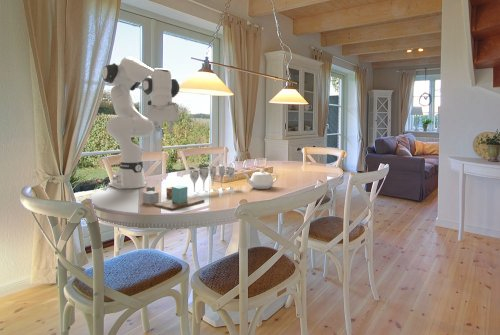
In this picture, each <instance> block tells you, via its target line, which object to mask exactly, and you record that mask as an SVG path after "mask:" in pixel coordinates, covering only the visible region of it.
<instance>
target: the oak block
mask: <svg viewBox="0 0 500 335" xmlns="http://www.w3.org/2000/svg"><path fill="white" fill-rule="evenodd" d="M172 187H173V186H169V187H166V190H165V191H166V199H170V200H172Z"/></svg>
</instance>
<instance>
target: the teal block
mask: <svg viewBox="0 0 500 335" xmlns="http://www.w3.org/2000/svg"><path fill="white" fill-rule="evenodd" d="M171 187H172V199H171V200H172V202H174V203H179V204H180V203H184V202H187V196H188V186H185V185H175V186H171Z"/></svg>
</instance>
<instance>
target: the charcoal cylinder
mask: <svg viewBox="0 0 500 335" xmlns="http://www.w3.org/2000/svg"><path fill="white" fill-rule="evenodd" d="M145 187H146V186H145ZM145 190H146V191H145V192H148V191H155V192H156V187H155V186H147V187H146V188H145Z"/></svg>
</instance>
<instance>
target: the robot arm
mask: <svg viewBox="0 0 500 335" xmlns="http://www.w3.org/2000/svg"><path fill="white" fill-rule="evenodd" d="M102 79H103V81H104V82H106V83H107V84H110V85H111V84H112V85H114V86H112V88H111V90H110V99H111V104H112V108H113V109H114V113H115V115H116V116H117V117H112V118H111V117H110V118H109V119H108V120H107V122H106V124H105V128H106V132H107V134H108V135H109V136H110V137H112V138H113V139H114V140H115V141H116V142H117V144H118V147H119V149H120V160H121V161H120V162H119V163H118V165H119V168H118V169H117V170H116V171H115V173H113V175H112V181H111V182H108V183H107V184H108V186H109V187H112V188H115V189H119V190H121V189H122V190H123V189H138V188H144V187H146V185H147V181H146V176H145V170H144V169H143V168H144V162H143V154H142V153H143V152H142V150H143V149H142V148H141V146H140V145H139V144H137V143H135V142H133V141H132V138H144V137H148V136H151V135H153V132H154V131H160V126H159V125H158V124H159V122H168V127H167V128H166V130H167V132H172V131H173V127H174V125H175V123H177V122H179V121H180V112H179V105H178V104H177V102H173V98H175V97H176V96H177V95H178V94H179V92H180V84H179V82H178V81H177V79H176V78H175V77H172V74H171V70H169V69H167V68H159V67H156V68H154V69H153V68H151V67H150V66H147V65H146V64H145V63H143V62H141V60H139V59H137V58H134V57H132V56H126V57H125V56H124V57H123V58H122V60H120V64H116V63H114V62H113V63H111V64H106V65H105V66H104V67H103V69H102ZM141 83H142V90H143V92H144V93H145V95H147V96H150V97H151V96H152V97H151V99H149V100H147V101H146V106H147V107H146V116H144V115H143V114H141V112H139V111H138V109H137V108H136V107H135V105H134V102H133V98H132V95H131V93H130V92H131V91H135V89H137V88H139V86H140V85H141Z"/></svg>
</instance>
